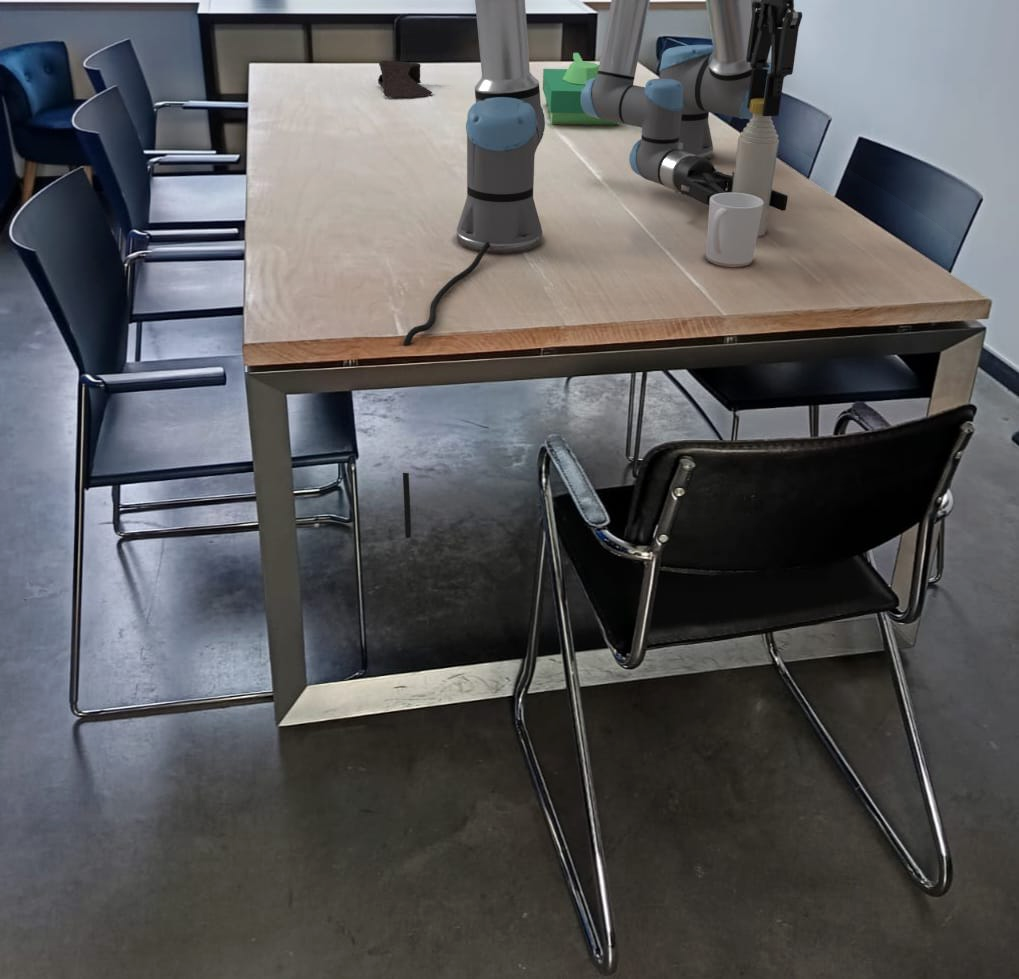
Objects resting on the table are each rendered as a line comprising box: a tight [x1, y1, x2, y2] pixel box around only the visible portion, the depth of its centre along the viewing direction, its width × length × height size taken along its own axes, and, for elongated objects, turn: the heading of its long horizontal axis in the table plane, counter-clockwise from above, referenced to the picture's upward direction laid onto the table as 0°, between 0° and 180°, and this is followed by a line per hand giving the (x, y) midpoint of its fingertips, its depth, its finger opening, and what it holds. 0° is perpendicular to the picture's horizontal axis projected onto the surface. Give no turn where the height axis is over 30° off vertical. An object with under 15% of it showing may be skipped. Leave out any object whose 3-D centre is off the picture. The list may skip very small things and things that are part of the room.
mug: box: [705, 193, 764, 268], centre depth 186 cm, size 11×9×10 cm
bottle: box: [732, 113, 780, 238], centre depth 197 cm, size 7×7×23 cm
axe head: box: [377, 59, 433, 99], centre depth 299 cm, size 18×8×15 cm
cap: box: [749, 98, 765, 115], centre depth 192 cm, size 5×5×2 cm
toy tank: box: [542, 52, 619, 126], centre depth 280 cm, size 18×12×35 cm
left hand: (762, 111), depth 192 cm, fingers open, 5 cm apart
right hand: (768, 206), depth 197 cm, fingers closed on bottle, 7 cm apart
